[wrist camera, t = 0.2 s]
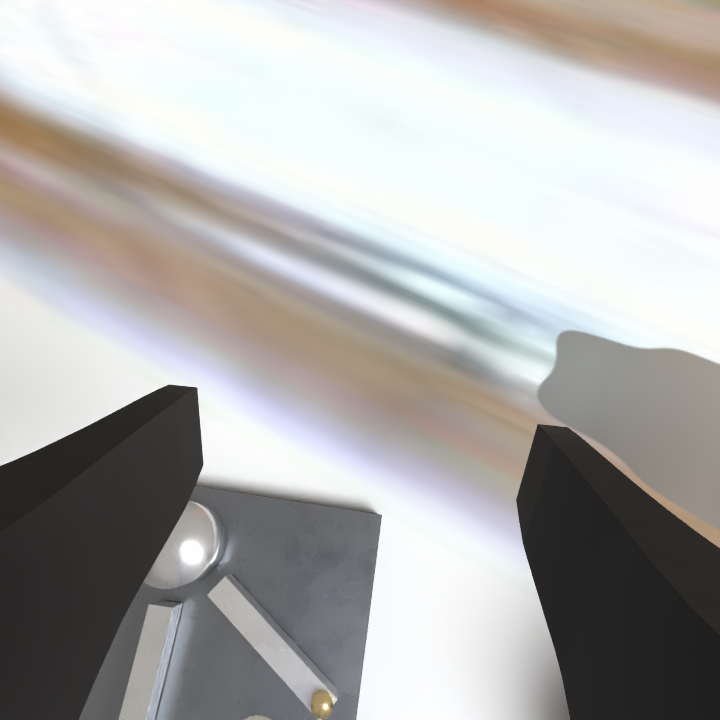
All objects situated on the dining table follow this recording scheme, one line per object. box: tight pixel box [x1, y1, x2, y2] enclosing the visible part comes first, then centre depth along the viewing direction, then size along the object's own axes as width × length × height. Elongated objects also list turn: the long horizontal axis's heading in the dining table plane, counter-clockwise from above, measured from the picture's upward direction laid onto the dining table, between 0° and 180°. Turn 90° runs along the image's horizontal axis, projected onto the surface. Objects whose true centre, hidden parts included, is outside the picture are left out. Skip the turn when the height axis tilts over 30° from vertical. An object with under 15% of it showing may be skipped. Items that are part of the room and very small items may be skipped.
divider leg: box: [207, 574, 338, 720], centre depth 33 cm, size 11×2×3 cm, turn 47°
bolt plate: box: [79, 486, 382, 720], centre depth 34 cm, size 21×19×6 cm
